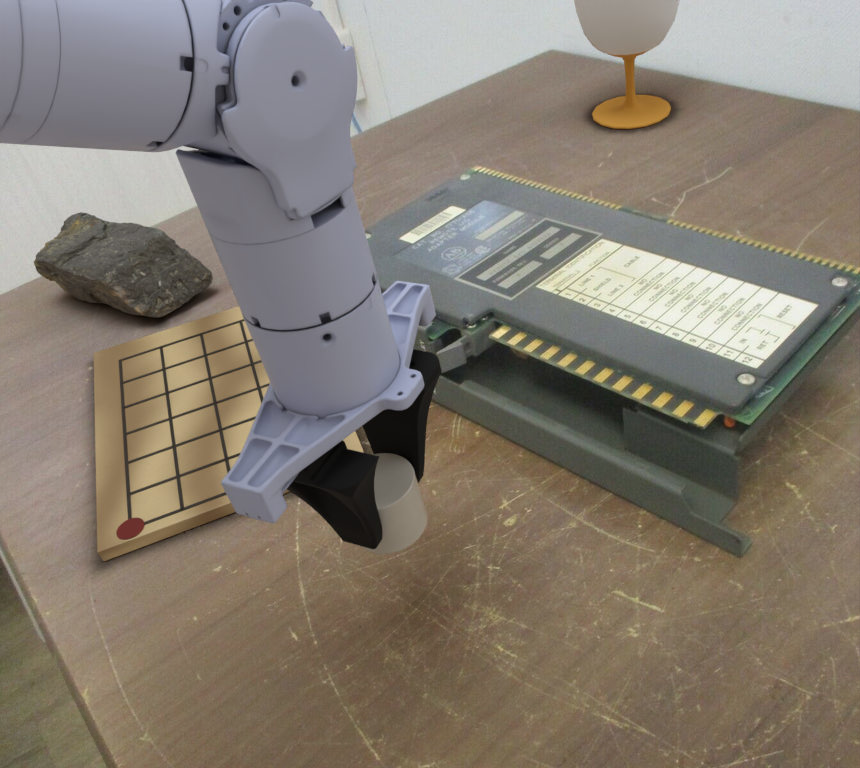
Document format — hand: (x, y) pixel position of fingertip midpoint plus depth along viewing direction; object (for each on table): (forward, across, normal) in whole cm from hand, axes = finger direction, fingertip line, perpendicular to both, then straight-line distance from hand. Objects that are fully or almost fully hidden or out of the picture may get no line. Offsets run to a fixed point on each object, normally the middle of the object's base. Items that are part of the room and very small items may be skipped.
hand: (383, 507), depth 43 cm
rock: (+8, +22, +42) cm, 49 cm away
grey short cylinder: (+1, 0, 0) cm, 1 cm away
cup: (+8, +68, +7) cm, 68 cm away
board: (+8, +11, +24) cm, 27 cm away
